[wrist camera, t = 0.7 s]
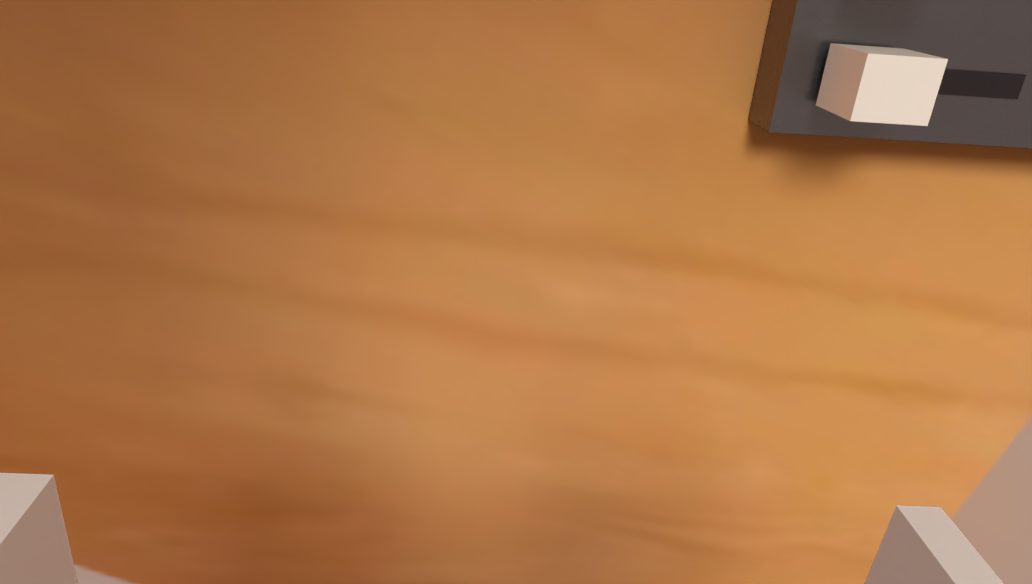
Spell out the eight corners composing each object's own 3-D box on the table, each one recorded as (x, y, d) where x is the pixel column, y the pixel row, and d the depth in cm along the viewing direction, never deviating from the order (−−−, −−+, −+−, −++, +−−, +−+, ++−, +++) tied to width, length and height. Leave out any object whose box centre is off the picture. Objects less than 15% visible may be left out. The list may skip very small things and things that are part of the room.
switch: (830, 43, 29) (868, 53, 26) (903, 48, 29) (948, 59, 26) (815, 105, 30) (850, 121, 27) (886, 109, 30) (927, 126, 27)
